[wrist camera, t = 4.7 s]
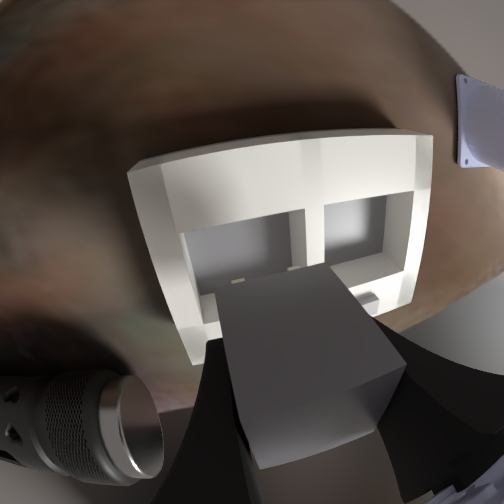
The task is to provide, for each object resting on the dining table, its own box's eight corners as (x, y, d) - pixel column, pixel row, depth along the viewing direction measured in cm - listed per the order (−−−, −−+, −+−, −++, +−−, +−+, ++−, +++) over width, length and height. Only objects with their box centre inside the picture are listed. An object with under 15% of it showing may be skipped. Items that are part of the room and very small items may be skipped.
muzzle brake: (-53, 349, 15) (-81, 410, 6) (123, 330, 19) (107, 460, 10) (-11, 399, 20) (-28, 458, 11) (165, 399, 23) (172, 497, 14)
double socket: (396, 127, 16) (439, 137, 12) (386, 278, 21) (415, 306, 18) (140, 159, 14) (123, 175, 10) (190, 328, 19) (193, 372, 16)
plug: (314, 249, 11) (407, 364, 6) (314, 324, 13) (373, 431, 7) (211, 272, 10) (240, 421, 5) (230, 345, 12) (259, 469, 7)
